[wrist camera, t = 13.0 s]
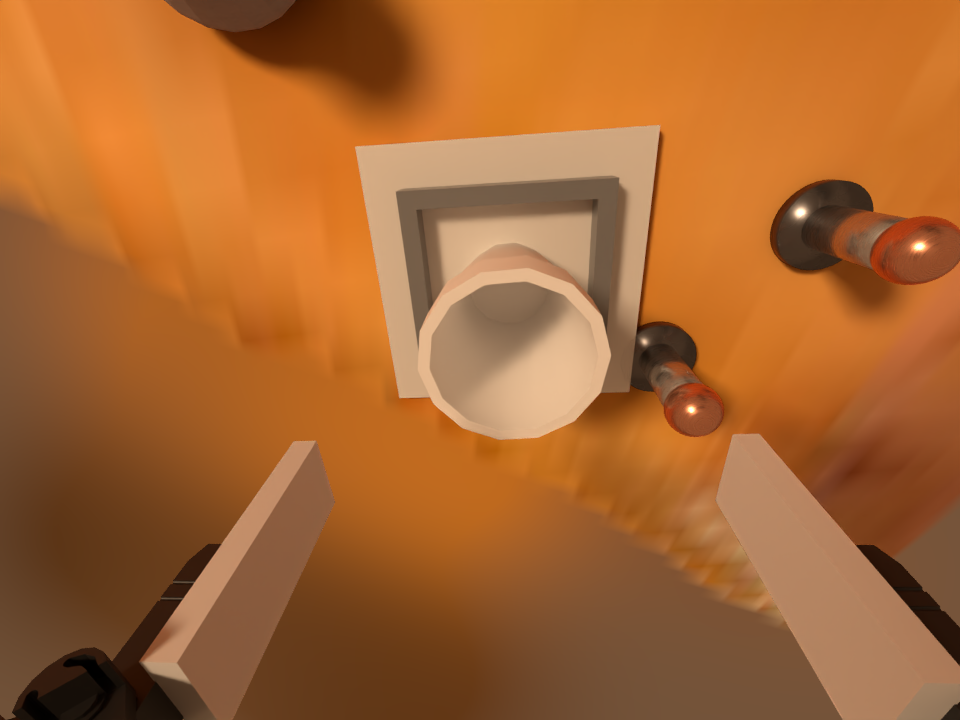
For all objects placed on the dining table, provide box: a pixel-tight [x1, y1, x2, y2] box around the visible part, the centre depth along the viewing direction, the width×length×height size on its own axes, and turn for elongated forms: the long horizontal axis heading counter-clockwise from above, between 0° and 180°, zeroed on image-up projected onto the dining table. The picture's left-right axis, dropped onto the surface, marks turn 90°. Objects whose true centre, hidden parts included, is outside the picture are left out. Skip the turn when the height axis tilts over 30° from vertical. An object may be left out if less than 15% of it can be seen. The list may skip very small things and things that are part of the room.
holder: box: [355, 125, 660, 398], centre depth 32 cm, size 20×20×3 cm
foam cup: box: [418, 242, 611, 440], centre depth 26 cm, size 10×9×13 cm
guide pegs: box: [621, 180, 960, 437], centre depth 28 cm, size 6×20×10 cm, turn 139°
